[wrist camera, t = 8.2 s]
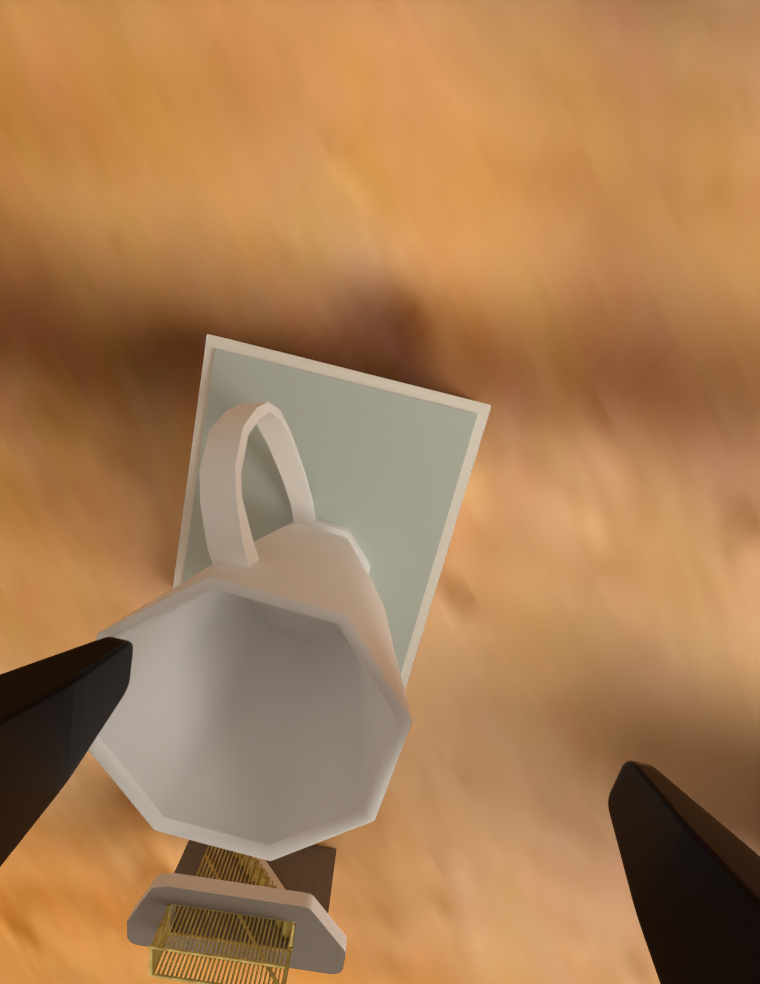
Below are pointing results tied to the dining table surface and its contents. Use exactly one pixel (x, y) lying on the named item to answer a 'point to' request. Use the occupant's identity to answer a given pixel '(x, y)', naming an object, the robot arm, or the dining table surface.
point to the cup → (259, 674)
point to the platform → (241, 913)
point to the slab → (345, 468)
